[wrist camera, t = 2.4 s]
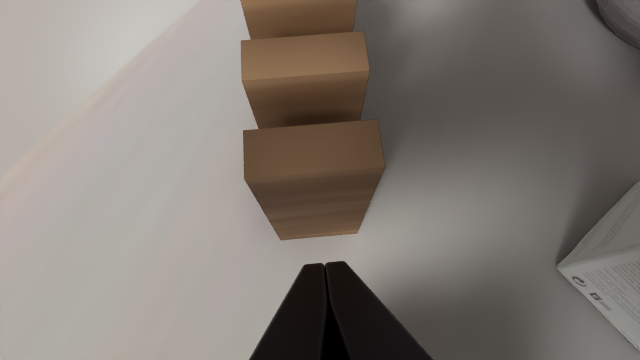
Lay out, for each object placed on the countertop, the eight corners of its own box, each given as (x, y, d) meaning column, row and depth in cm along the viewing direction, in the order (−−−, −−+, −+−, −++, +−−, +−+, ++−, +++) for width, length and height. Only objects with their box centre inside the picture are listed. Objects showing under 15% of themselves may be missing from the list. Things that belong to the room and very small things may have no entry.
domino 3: (343, 123, 23) (357, -10, 13) (274, 128, 23) (240, -1, 13) (340, 100, 23) (352, -43, 14) (273, 105, 23) (239, -35, 14)
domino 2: (349, 175, 22) (369, 70, 12) (277, 181, 22) (241, 80, 12) (346, 150, 22) (363, 31, 13) (276, 156, 22) (240, 40, 13)
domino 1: (356, 233, 21) (385, 166, 11) (280, 239, 21) (243, 178, 11) (353, 205, 21) (377, 119, 12) (278, 211, 21) (243, 130, 12)
